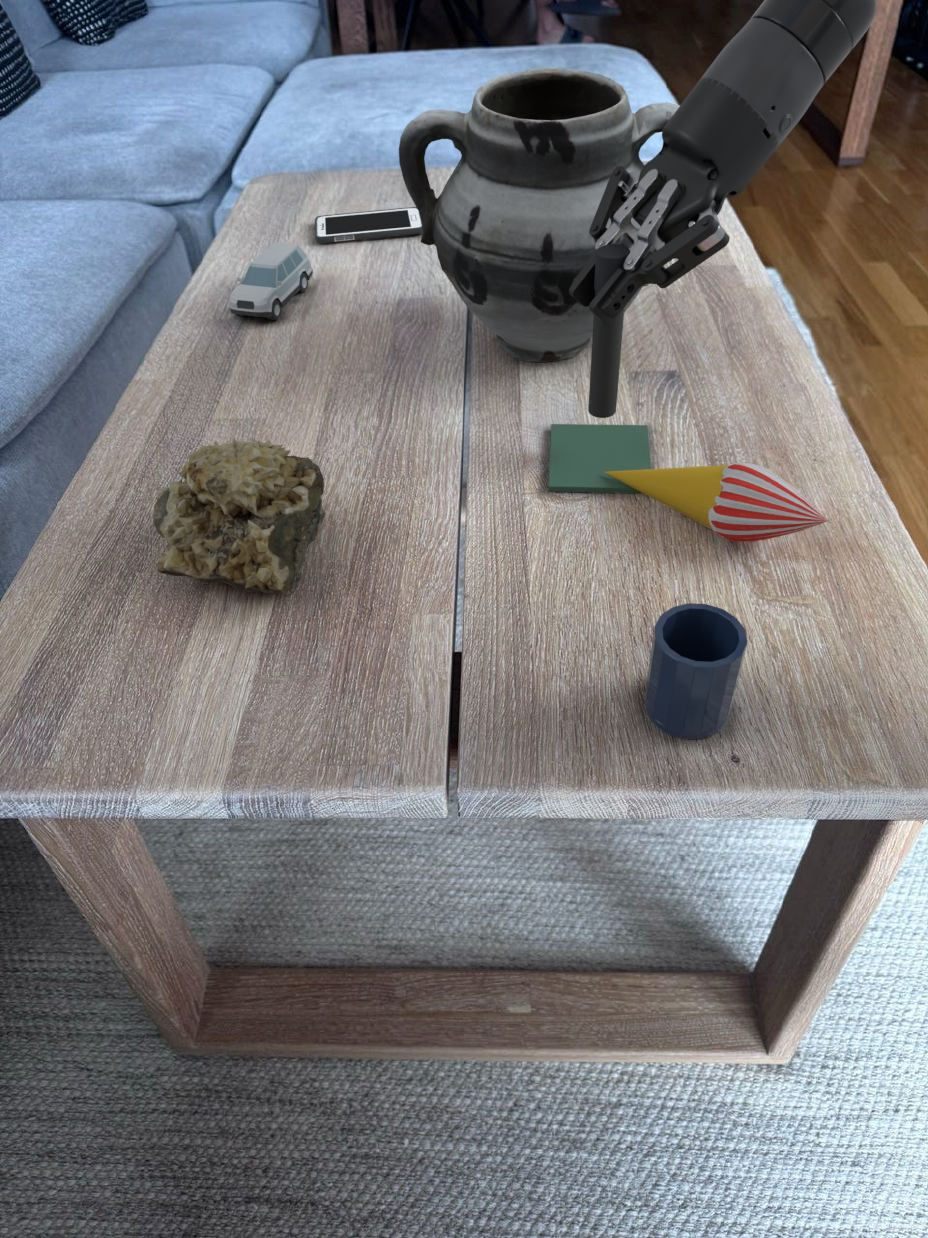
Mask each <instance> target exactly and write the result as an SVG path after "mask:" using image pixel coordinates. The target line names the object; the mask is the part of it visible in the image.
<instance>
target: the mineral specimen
mask: <svg viewBox="0 0 928 1238" xmlns="http://www.w3.org/2000/svg"><path fill="white" fill-rule="evenodd" d="M286 448H287V447H286V446H284V447H283V444H272V439H271V438H269V439H268V440H266V442H263V441H262V440H258V441H257V440H255V439H254V438H251V441H244V440H236V439H235V438H233V440H232V443H231V442H227V443H222V444H221V445H220V444H219V442H218V441H217V440H215V442H214V444H212V445H211V444H209V445H200V447H199V449H198V450H195V451H192V452H189V453H188V454H187V459H188V461H187V462H186V463H185V464H184V465H183V467H182V470H181V471H180V472H178V474H179V475H180V477H181V478H183V479H184V481H182V479H179V480H178V481H174V482H172V483H171V485H170V486H169V487H164V488H162V490H161V491H159V492H158V493H157V494H156V496H155V499H156V502H155V504H154V506H153V512H152V517H153V518H152V521H153V524H154V527H155V530H156V532H157V533H158V534H159V535H160V537H162V538H163V540H165V541H166V542H167V544H168V549H167V550H166V551H163V554H162V555H161V557H160V558H158V559H156V561H157V564H156V566H157V567H156V568H157V571H158V573H160V574H164V575H169V576H171V577H184V576H185V577H190V578H195V579H196V578H197V579H199V580H202V581H205V582H208V583H225V584H228V585H230V586H231V587H232V588H234V589H235V590H237V591H242V592H243V591H244V592H247V593H251V592H252V593H253V592H262V593H264V594H269V595H273V596H274V595H280V596H281V595H282V596H285V597H286V596H287V595H292V594H293V593H295V591H296V589H297V588H298V586H299V583H300V581H301V580H302V579H303V574H302V571H301V569H302V567H303V565H304V564H305V561H306V552H307V550H308V549H309V546H310V545H311V543H313V542H314V541H315V540H316V539H317V538H318V534H319V532H320V529H321V527H322V525H323V523H324V521H325V517H326V512H325V511H326V510H324V508H323V499H322V496H323V494H324V492H325V482H324V481H325V478H324V475H323V473H322V471H321V469H320V467H319V465H318V464H316V463H315V462H313V460H312V458H310V457H301V456H296V455H289V454H290V453H291V450H286Z"/></svg>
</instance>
